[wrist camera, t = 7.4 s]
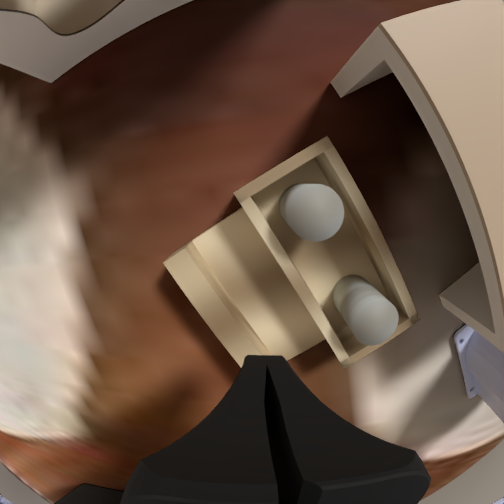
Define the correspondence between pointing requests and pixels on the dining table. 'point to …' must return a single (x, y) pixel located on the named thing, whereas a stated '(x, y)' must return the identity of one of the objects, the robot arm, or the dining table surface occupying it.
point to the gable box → (67, 30)
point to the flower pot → (91, 496)
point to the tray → (297, 266)
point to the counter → (454, 128)
